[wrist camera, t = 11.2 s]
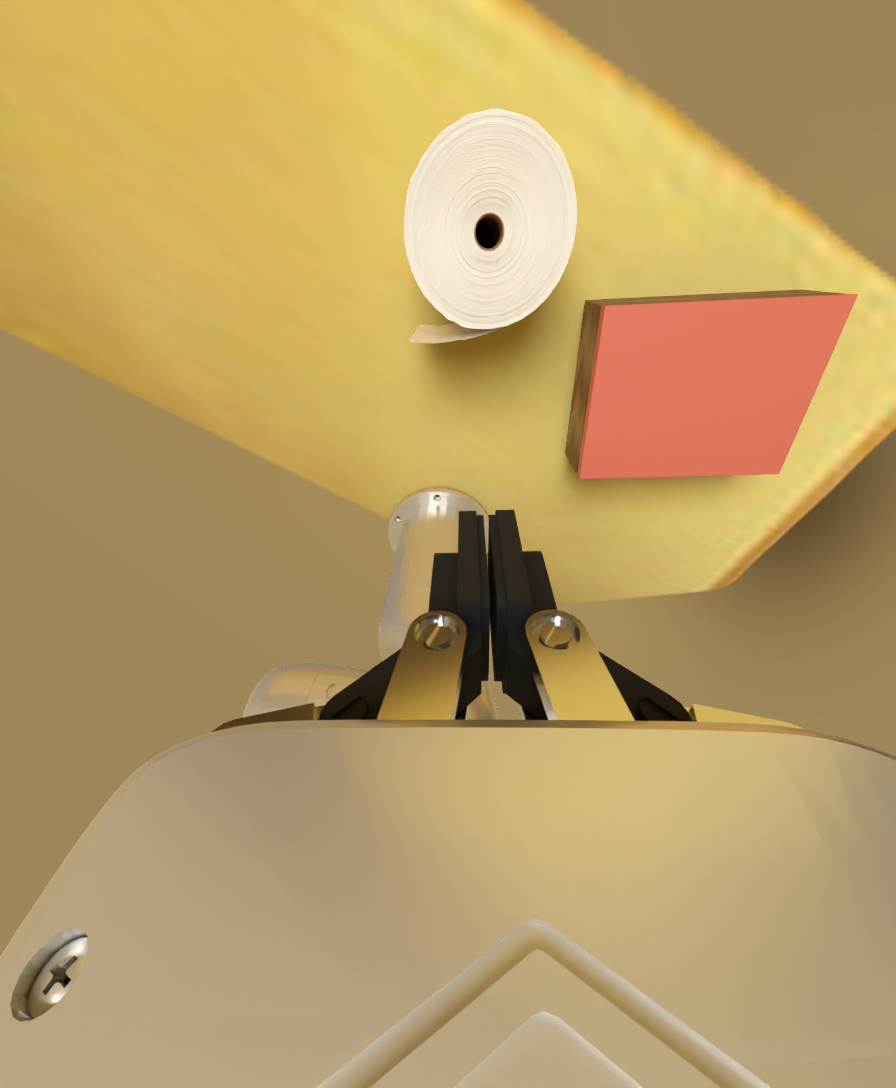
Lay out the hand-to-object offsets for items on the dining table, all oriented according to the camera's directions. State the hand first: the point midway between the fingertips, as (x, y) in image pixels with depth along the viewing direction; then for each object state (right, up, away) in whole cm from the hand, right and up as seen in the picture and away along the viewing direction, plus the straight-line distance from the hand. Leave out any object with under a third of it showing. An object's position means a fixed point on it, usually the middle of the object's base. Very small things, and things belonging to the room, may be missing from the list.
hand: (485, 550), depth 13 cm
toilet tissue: (+2, +25, +21) cm, 32 cm away
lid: (+20, +13, +22) cm, 32 cm away
